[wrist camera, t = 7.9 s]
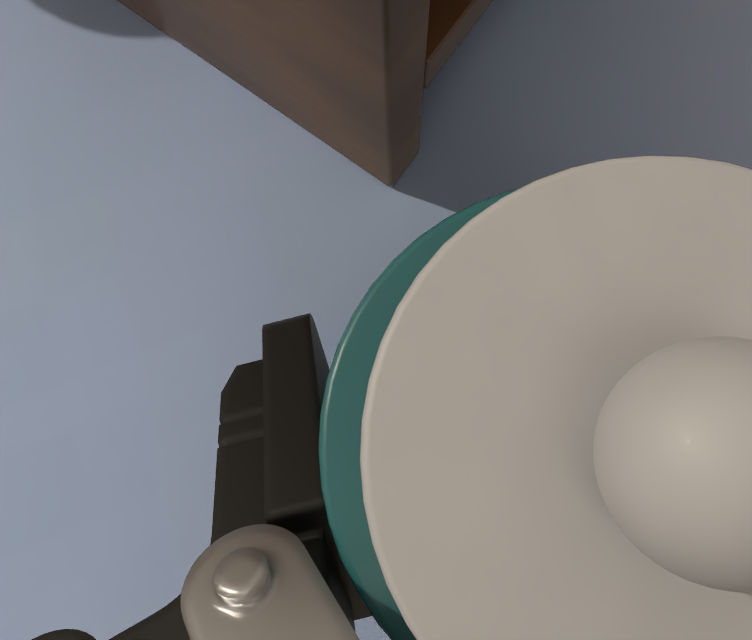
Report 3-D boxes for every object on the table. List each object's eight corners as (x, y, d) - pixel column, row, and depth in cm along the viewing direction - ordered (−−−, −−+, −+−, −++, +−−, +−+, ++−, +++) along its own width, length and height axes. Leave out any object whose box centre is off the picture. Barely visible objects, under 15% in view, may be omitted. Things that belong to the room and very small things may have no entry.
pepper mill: (319, 455, 15) (15, 590, 3) (450, 275, 16) (626, -207, 4) (507, 597, 14) (1046, 1460, 2) (636, 405, 15) (1592, 343, 3)
